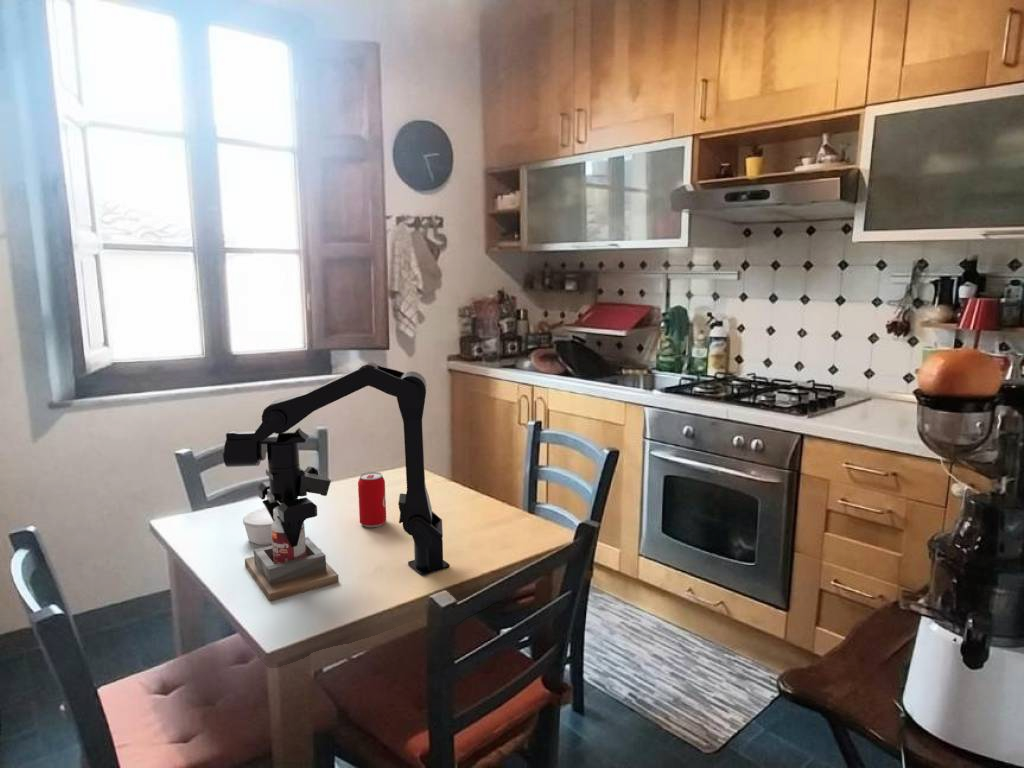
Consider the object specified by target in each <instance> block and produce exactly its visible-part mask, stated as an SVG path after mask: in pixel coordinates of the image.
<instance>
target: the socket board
mask: <svg viewBox="0 0 1024 768" xmlns="http://www.w3.org/2000/svg"><path fill="white" fill-rule="evenodd" d="M305 545H306V557H303V558H299V559H295V560H291V561H287V562H283V563H279V564H274V560H273V546H272V545H266V546H264V547H259V548H256V549H253V556H251V557H247V558H244V566H245V568H246V569H247V571H248V572H249V573H250V575H251V576H252V578H253V579H254V582H256V584H257V585H258V587H259V588H260V590H261V591H262V593H263V594H264V596H265V597H266V598H267V600H268V601H269V602H273V601H277V600H280V599H284V598H288V597H291V596H294V595H298V594H301V593H304V592H309V591H312V590H315V589H319V588H320V589H321V588H322V587H323V588H324V587H327V586H330V585H334V584H336V583H339V582H340V580H339V574H338V573H337V572H336V571H335V570H334V569H333V568H332V566H330V565H329V564H328V562H327V558H326V554H325V553H324V552H323V551H322V550H321V549H320V548H319V547H318V546H317V545H316V544H315V543H314V542H313V541H312V540H311V539H310V538H309V537H308V536H305Z"/></svg>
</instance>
